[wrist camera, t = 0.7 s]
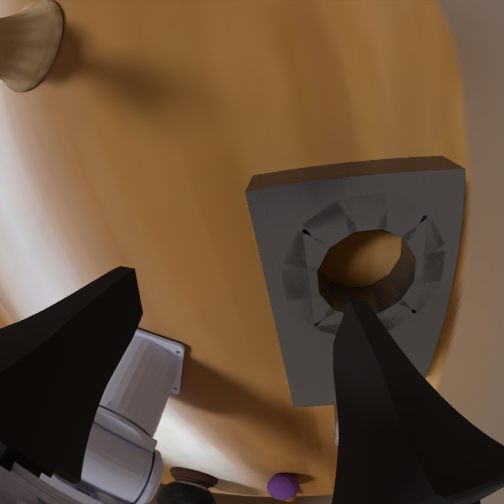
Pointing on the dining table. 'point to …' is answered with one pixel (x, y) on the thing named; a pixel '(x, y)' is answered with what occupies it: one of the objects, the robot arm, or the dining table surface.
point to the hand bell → (29, 44)
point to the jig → (337, 228)
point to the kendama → (283, 487)
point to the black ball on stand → (188, 488)
